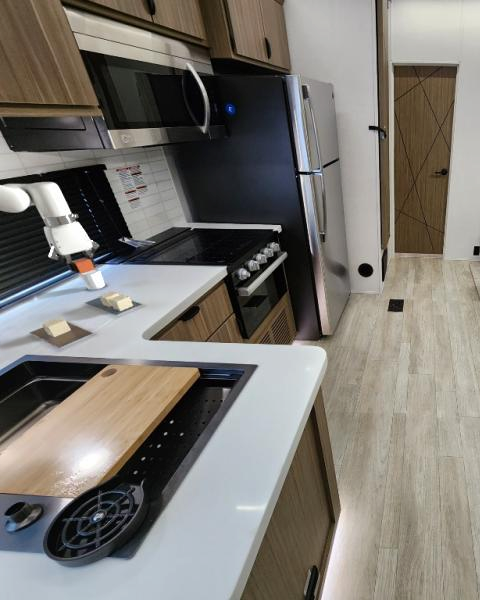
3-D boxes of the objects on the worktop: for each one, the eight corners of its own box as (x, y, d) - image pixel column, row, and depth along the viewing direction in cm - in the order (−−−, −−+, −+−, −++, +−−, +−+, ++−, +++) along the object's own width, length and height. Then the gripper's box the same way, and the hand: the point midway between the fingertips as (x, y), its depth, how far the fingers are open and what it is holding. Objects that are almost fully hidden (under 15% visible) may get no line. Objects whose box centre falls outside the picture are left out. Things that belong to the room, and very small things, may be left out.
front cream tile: (54, 337, 107) (47, 326, 105) (47, 334, 109) (41, 323, 107) (71, 330, 111) (65, 320, 109) (64, 327, 113) (58, 317, 111)
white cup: (105, 282, 146) (98, 267, 143) (107, 286, 142) (100, 271, 139) (85, 286, 142) (77, 272, 139) (87, 291, 138) (79, 276, 134)
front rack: (93, 334, 110) (93, 333, 109) (60, 349, 102) (59, 347, 102) (63, 321, 117) (62, 319, 117) (29, 334, 110) (29, 332, 110)
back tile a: (120, 311, 122) (115, 301, 120) (113, 308, 124) (109, 299, 122) (133, 305, 126) (129, 296, 124) (126, 303, 127) (122, 294, 125)
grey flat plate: (143, 305, 127) (142, 304, 127) (117, 316, 120) (116, 315, 120) (110, 294, 135) (110, 293, 135) (84, 304, 128) (84, 302, 128)
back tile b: (109, 307, 125) (105, 298, 123) (103, 304, 126) (98, 295, 125) (122, 302, 128) (118, 293, 126) (116, 299, 130) (112, 290, 128)
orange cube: (80, 273, 119) (75, 263, 117) (74, 271, 121) (69, 261, 119) (95, 269, 123) (90, 259, 121) (89, 267, 124) (84, 257, 122)
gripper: (83, 213, 121) (105, 260, 130) (21, 225, 108) (50, 276, 116) (94, 216, 118) (115, 263, 127) (32, 228, 105) (61, 280, 113)
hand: (84, 269), depth 121 cm, fingers closed on orange cube, 4 cm apart
